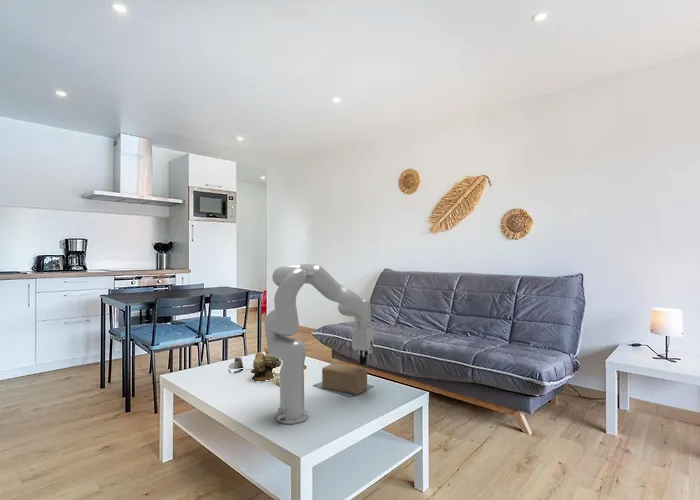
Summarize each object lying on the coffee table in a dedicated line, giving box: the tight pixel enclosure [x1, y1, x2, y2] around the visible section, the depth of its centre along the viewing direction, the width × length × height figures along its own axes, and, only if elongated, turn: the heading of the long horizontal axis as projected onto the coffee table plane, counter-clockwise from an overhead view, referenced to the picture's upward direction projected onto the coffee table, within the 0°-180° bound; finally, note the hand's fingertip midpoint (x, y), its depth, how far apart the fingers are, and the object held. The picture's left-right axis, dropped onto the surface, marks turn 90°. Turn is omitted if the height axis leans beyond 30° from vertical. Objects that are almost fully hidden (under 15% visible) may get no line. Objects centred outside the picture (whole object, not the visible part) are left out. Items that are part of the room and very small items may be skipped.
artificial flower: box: [228, 357, 244, 370], centre depth 223 cm, size 9×22×10 cm, turn 99°
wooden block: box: [321, 362, 368, 396], centre depth 190 cm, size 10×10×20 cm
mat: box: [312, 381, 375, 398], centre depth 194 cm, size 18×24×1 cm
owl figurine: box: [250, 345, 283, 381], centre depth 209 cm, size 18×12×17 cm, turn 136°
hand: (363, 364), depth 186 cm, fingers closed
